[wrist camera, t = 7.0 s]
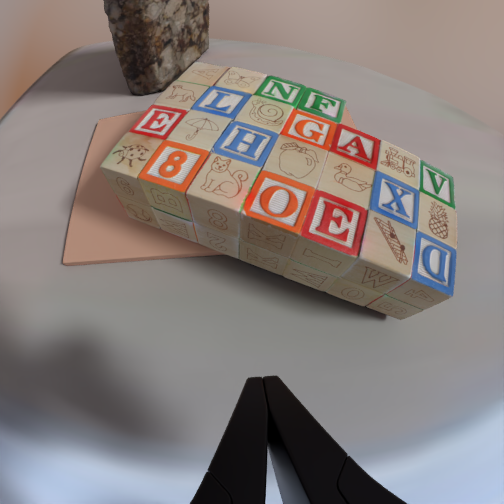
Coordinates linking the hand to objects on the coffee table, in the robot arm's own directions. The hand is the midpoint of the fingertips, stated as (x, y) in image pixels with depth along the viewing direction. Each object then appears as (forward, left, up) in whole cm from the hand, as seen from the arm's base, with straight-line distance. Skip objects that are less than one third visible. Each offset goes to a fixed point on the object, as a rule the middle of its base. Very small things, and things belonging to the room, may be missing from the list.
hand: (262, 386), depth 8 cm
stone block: (+34, +6, -10) cm, 36 cm away
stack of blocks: (+7, -1, -7) cm, 9 cm away
